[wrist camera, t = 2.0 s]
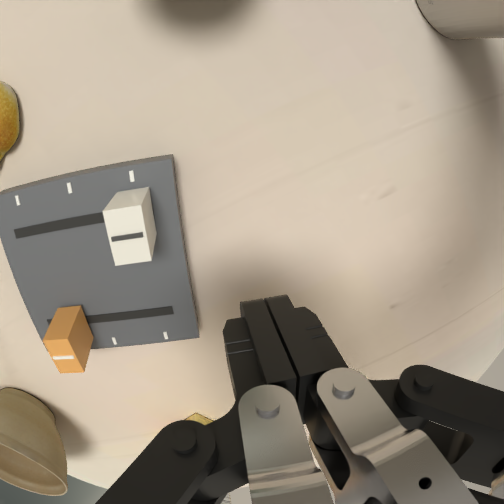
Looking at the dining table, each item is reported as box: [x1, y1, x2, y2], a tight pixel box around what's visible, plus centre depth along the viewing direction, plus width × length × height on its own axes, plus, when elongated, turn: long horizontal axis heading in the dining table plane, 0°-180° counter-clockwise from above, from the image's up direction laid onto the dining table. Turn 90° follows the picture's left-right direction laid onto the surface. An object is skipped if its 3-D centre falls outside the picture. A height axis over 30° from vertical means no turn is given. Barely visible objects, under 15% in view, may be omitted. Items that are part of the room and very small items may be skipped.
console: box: [0, 154, 199, 351], centre depth 25 cm, size 16×16×3 cm
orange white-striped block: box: [43, 305, 94, 373], centre depth 23 cm, size 2×4×5 cm, turn 3°
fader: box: [103, 187, 157, 266], centre depth 20 cm, size 2×4×5 cm, turn 3°
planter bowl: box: [0, 388, 68, 496], centre depth 27 cm, size 16×16×11 cm
